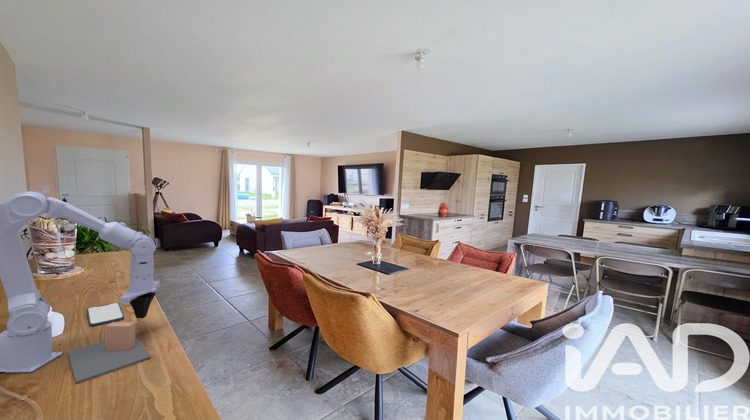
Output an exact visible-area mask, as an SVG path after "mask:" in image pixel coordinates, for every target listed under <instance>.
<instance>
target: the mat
mask: <svg viewBox="0 0 750 420" xmlns="http://www.w3.org/2000/svg"><path fill="white" fill-rule="evenodd" d="M67 356H68V359H69V364H70V367H71V371H72V373H73V378H74V382H75V385H77V384H81V383H83V382H87V381H88V380H89V381H90V380H92V379H95V378H97V377H100V376H103V375H106V374H109V373H112V372H116V371H119V370H122V369H124V368H127V367H129V366H133V365H136V364H139V363H142V362H145V361H147V360H150V359H151V356H150V354H149V353H148V351H147V350H146V349H145V346H144V345H143V344H142V343H141V341H140V340H139V338H138V337H137V336H136V335H135V346H134V347H132V348H131V349H130V350H105V340H104V341H103V340H102V341H100V342H95V343H93V344H89V345H85V346H81V347H78V348H74V349H71V350H67ZM80 382H81V383H80Z"/></svg>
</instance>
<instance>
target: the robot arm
mask: <svg viewBox="0 0 750 420" xmlns="http://www.w3.org/2000/svg"><path fill="white" fill-rule="evenodd" d="M44 214H46V216H45V218H46V219H49V218H50V219H51V218H55V219H56V218H57V219H61V218H62V219H65V220H68V221H70V222H73V223H74V224H77V225H80V226H82V227H85V228H88V229H89V230H91V231H95V232H97V234H98V236H99V238H100V240H102V241H105V242H107V243H110V244H112V245H114V246H117V247H118V248H121V249H123V250H129V251H130V260H129V289H128V290H127V291H126V292H125V293H124V294H123V295H122V296H120V297H119V305H122V304H123V305H129V304H130V306H131V308H132V310H133V313H134V316H135V318H136V319H144V318H146V317H147V315H148V312H149V309H150V306H151V303H152V301H153V299H154V298H155V297H156V291H157V290H158V288H159V287H160V286H161V281H160V280H154V274H155V273H154V270H155V268H154V267H155V266H154V265H155V260H154V253H155V251H156V249H157V246H156V243H155V242H154V240H153V239H152V238H151V237H149V236H148V235H146V234H144V233H143V232H141V231H136V230H135V229H132V228H130V227H128V226H127V224H126V223H125V222H122V221H120V223H119V222H118V221H110V222H106V221H104V220H102V219H100V218H98V217H96V216H94V215H92V214H90V213H88V212H86V211H84V210H82V209H80V208H78V207H77V206H74V205H72V204H70V203H68V202H66V201H63V200H61V199H58V198H55V197H52V196H49V197H48V196H47V195H46V194H44V193H42V192H40V191H36V190H35V191H34V190H25V191H23V192H19V193H15V194H13V195H11V196H9V197H8V198H7V199H5V200H4V201H2V202H1V203H0V281H1V284H2V286H3V290H4V292H5V295H6V299H7V312H8V314H9V318H8V320H7V324H6V329H5V330H3V331H2V332H0V372H5V373H33V372H34V371H36V370H38V369H39V368H41V367H43V366H44V365H46V364H48V363H49V362H51V361H53V360H54V359H56V358H58V357H59V356H61V355H63V352H62V351H53V349H52V348H53V347H52V346H53V344H52V343H53V341H52V339H53V337H52V336H53V335H52V333H53V332H52V331H53V328H52V326H53V325H52V322H51V321H49V320H48V318H49V317H48V315H49V312H50V310H51V304H50V303H49V301H47V300H46V299H44V298H43V297H42V295H41V292H40V291H39V290H38V288H37V285H36V282H35V278H34V276H33V272H32V269H31V266H30V263H29V261H28V257H27V253H26V250H25V247H24V244H23V241H22V238H21V236H20V233H19V231H20V230H21V229H22V228H23V227H24V226H25V225H26V224H28V223H29V222H30V221H33V220H35V219H36V218H39V217H40V216H42V215H44Z"/></svg>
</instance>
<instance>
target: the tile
mask: <svg viewBox="0 0 750 420" xmlns="http://www.w3.org/2000/svg"><path fill="white" fill-rule="evenodd" d="M104 328H105V332H104V333H105V336H104V338H105V340H104V341H105V350H130V349H131V348H132V347H134V346H135V336H136V321H133V322H132V321H117V322H112V323H108V324H105V326H104Z"/></svg>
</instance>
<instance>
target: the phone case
mask: <svg viewBox="0 0 750 420" xmlns="http://www.w3.org/2000/svg"><path fill="white" fill-rule="evenodd" d="M86 317H87V321H88V327H89V328H91V327H94V328H95V327H98V326H102V325H108V324H110V323H112V322H122V321H123V320H125V315H124V312H123V309H122V307H121V304H120V302H113V303H108V304H104V305H103V304H102V305H97V306H93V307H89V308H87V309H86Z"/></svg>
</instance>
